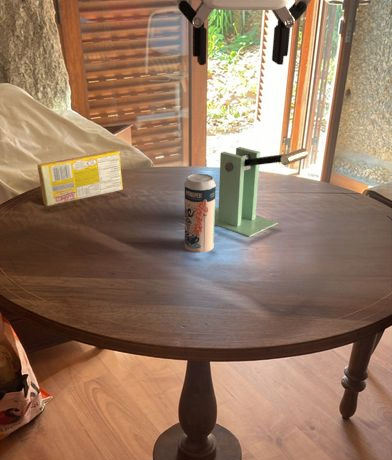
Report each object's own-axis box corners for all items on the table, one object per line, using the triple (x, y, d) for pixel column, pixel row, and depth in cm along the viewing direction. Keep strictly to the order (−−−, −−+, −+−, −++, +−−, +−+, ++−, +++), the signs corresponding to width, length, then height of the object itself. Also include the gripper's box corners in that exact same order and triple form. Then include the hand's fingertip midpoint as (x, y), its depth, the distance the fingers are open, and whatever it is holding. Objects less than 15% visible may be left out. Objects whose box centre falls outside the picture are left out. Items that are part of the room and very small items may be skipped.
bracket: (277, 229, 100) (284, 154, 92) (248, 242, 95) (254, 165, 88) (225, 211, 106) (228, 140, 99) (196, 222, 101) (197, 149, 94)
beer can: (178, 250, 92) (177, 177, 85) (200, 243, 94) (201, 170, 88) (197, 261, 89) (198, 185, 82) (219, 252, 91) (222, 178, 85)
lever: (308, 160, 88) (306, 144, 87) (290, 167, 85) (287, 151, 84) (244, 168, 97) (241, 153, 96) (225, 174, 94) (222, 159, 93)
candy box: (118, 191, 115) (115, 149, 110) (123, 194, 113) (121, 151, 108) (42, 207, 107) (36, 163, 102) (47, 211, 105) (41, 166, 101)
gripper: (171, -119, 57) (173, 68, 67) (337, -114, 59) (315, 67, 69) (165, -112, 63) (168, 59, 73) (316, -108, 65) (298, 58, 75)
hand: (239, 63), depth 71 cm, fingers open, 9 cm apart
